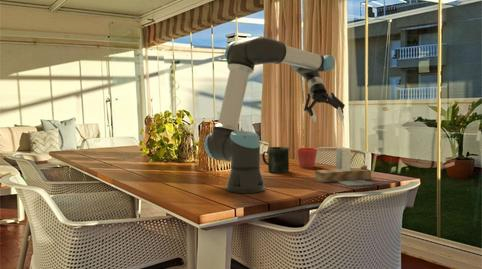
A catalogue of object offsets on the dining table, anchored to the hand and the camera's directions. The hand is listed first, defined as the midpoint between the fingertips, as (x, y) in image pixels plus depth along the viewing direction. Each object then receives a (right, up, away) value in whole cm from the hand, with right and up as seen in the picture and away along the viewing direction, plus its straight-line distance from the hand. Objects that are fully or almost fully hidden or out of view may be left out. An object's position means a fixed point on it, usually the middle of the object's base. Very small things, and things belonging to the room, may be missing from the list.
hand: (329, 119), depth 194 cm
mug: (-24, -26, +15) cm, 38 cm away
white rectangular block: (+4, -23, -8) cm, 25 cm away
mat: (+7, -28, -19) cm, 34 cm away
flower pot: (-6, -25, +29) cm, 38 cm away
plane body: (+4, -27, -8) cm, 29 cm away
